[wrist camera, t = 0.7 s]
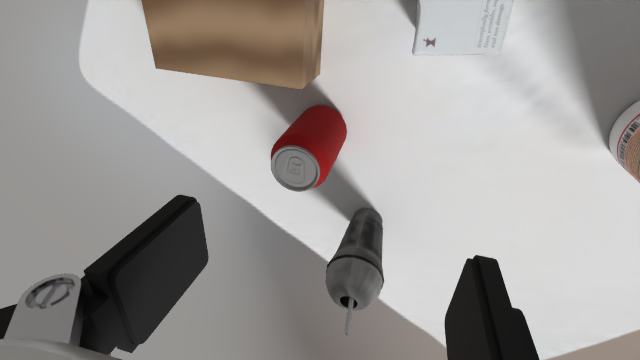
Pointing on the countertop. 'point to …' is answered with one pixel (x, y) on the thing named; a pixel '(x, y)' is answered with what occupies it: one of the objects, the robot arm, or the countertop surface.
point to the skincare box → (461, 27)
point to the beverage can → (308, 149)
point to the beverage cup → (357, 265)
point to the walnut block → (238, 39)
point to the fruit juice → (627, 140)
